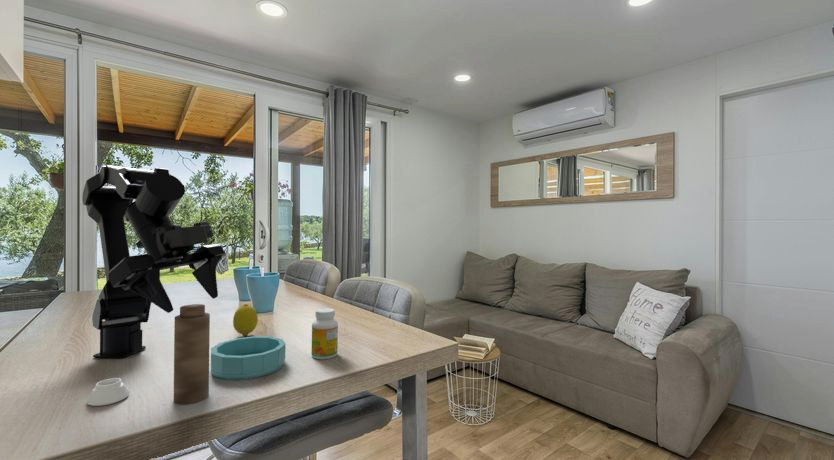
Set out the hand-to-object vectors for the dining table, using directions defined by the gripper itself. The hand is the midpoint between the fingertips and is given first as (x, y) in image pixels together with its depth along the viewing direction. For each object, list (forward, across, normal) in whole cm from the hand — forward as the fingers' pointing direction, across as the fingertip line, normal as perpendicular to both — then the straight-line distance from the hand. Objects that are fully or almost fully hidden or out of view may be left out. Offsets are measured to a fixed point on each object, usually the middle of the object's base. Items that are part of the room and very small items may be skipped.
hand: (194, 304), depth 67 cm
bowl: (+14, +7, +3) cm, 16 cm away
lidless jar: (+8, -12, +11) cm, 18 cm away
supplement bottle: (+21, +17, -5) cm, 28 cm away
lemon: (+8, +23, +17) cm, 30 cm away
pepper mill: (+14, -7, +2) cm, 16 cm away
